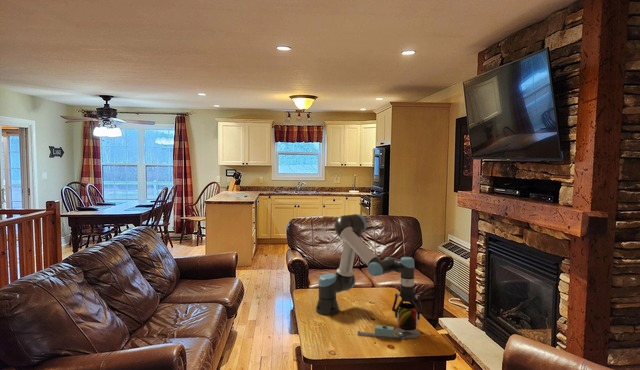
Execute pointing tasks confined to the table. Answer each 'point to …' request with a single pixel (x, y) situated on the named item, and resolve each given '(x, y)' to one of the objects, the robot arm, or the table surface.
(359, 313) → the table surface
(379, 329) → the latch block
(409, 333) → the coaster
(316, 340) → the table surface
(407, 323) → the mug
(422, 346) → the table surface
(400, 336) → the rail
